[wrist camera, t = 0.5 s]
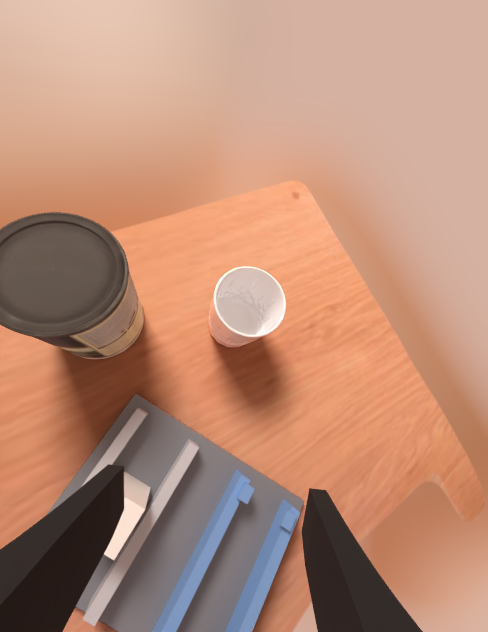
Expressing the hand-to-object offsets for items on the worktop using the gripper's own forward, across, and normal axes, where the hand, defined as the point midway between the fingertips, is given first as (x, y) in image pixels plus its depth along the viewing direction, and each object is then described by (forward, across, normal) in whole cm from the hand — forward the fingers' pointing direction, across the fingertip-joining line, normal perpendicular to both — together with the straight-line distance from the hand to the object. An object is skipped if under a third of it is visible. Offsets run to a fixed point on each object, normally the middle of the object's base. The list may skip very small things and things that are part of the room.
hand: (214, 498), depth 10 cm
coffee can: (+24, +18, 0) cm, 30 cm away
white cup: (+28, +2, +1) cm, 28 cm away
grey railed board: (+15, +5, +20) cm, 26 cm away
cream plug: (+14, +11, +17) cm, 25 cm away
